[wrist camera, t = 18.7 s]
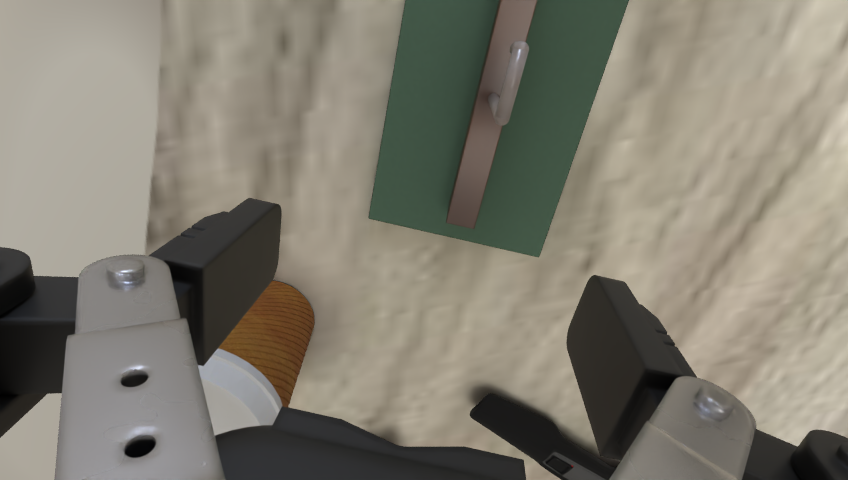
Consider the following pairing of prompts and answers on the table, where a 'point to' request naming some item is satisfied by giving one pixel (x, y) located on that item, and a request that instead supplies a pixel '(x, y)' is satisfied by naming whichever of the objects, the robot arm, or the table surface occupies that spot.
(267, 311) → the disposable coffee cup
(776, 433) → the table surface
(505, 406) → the electric trimmer
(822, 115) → the table surface
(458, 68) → the mat
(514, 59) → the brown bar with hook
